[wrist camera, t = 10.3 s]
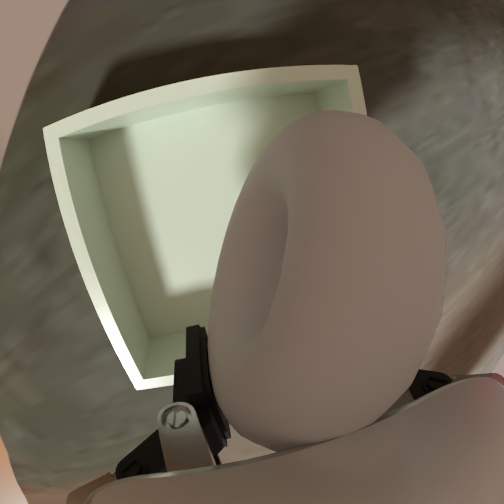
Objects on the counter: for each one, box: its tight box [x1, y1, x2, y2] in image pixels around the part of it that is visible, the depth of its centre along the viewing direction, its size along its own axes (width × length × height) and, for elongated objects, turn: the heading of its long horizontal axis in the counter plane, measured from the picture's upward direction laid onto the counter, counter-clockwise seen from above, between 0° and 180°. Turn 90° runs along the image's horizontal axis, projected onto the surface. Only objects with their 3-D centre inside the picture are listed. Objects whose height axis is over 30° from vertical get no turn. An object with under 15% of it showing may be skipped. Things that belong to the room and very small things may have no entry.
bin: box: [43, 65, 367, 390], centre depth 16 cm, size 16×16×5 cm
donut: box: [207, 110, 447, 452], centre depth 9 cm, size 10×4×10 cm, turn 162°
